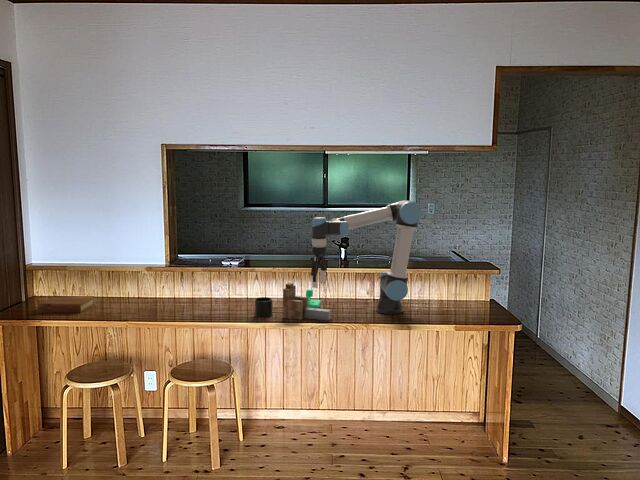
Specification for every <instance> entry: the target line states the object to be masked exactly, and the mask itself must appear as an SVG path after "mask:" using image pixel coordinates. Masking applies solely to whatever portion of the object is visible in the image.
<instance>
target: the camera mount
mask: <svg viewBox="0 0 640 480" xmlns="http://www.w3.org/2000/svg"><path fill="white" fill-rule="evenodd" d="M305 291H306V293H305V297H308V308H318V309H320V306H321V303H322V302H321V301H322V300H320V299H312V297H313V296H314V290H313V289H306V290H305Z"/></svg>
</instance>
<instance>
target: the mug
mask: <svg viewBox="0 0 640 480" xmlns="http://www.w3.org/2000/svg"><path fill="white" fill-rule="evenodd" d="M254 310H255V311H254V313H255V314H254V315H255V317H258V318H269V317H272V316H273V299H272V298H271V297H257V298H255V299H254Z"/></svg>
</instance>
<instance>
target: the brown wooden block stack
mask: <svg viewBox="0 0 640 480" xmlns="http://www.w3.org/2000/svg"><path fill="white" fill-rule="evenodd" d="M296 287H297V286H296V285H294V283H293V282H288V283H286V284H285V288H283V289H282V292H283V293H282V302H283V303H282V307H283V308H282V309H283V310H282V312H283V313H282V316H283V319H289V320H290V319H292V320H301V321H302V320H303V319H304V318H303V307H308V297H306V296H303V295H302V296H300V295H296V291H297V288H296ZM308 308H309V307H308Z"/></svg>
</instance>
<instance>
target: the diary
mask: <svg viewBox="0 0 640 480" xmlns="http://www.w3.org/2000/svg"><path fill="white" fill-rule="evenodd" d="M93 299H95V296H93V295H54V296H52V297H51V298H49V299H46V300H44V301H43V302H41V303H39V304H38V313H39V314H81V313H83V312H84V311H87V310H88V309H90V308H92V307H93V306H94V305H95V303H94V300H93Z"/></svg>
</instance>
